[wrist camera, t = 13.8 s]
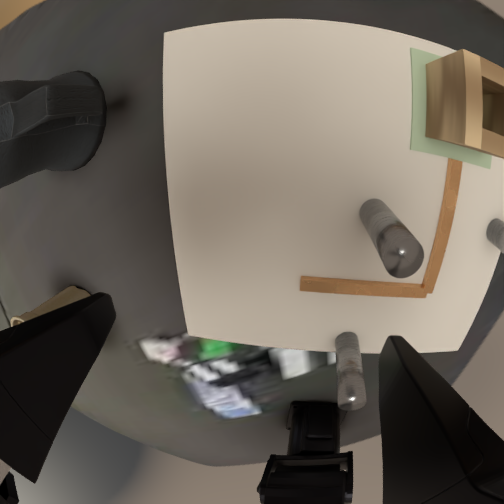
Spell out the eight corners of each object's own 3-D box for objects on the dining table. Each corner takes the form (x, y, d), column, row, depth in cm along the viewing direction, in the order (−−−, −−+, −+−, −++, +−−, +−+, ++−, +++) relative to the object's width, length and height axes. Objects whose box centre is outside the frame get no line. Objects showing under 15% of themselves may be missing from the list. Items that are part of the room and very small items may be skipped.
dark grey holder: (46, 176, 20) (-45, 219, 11) (39, 89, 17) (-56, 105, 7) (141, 158, 18) (15, 205, 8) (134, 45, 14) (12, 19, 4)
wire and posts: (505, 232, 15) (551, 271, 9) (343, 351, 22) (347, 413, 16) (455, 124, 13) (515, 132, 7) (267, 278, 20) (250, 340, 14)
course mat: (456, 347, 20) (458, 351, 20) (189, 332, 25) (187, 336, 24) (516, 82, 9) (521, 82, 9) (166, 34, 14) (163, 32, 13)
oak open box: (482, 152, 13) (526, 166, 8) (425, 136, 14) (464, 144, 9) (483, 85, 11) (527, 82, 6) (425, 64, 11) (462, 48, 7)
